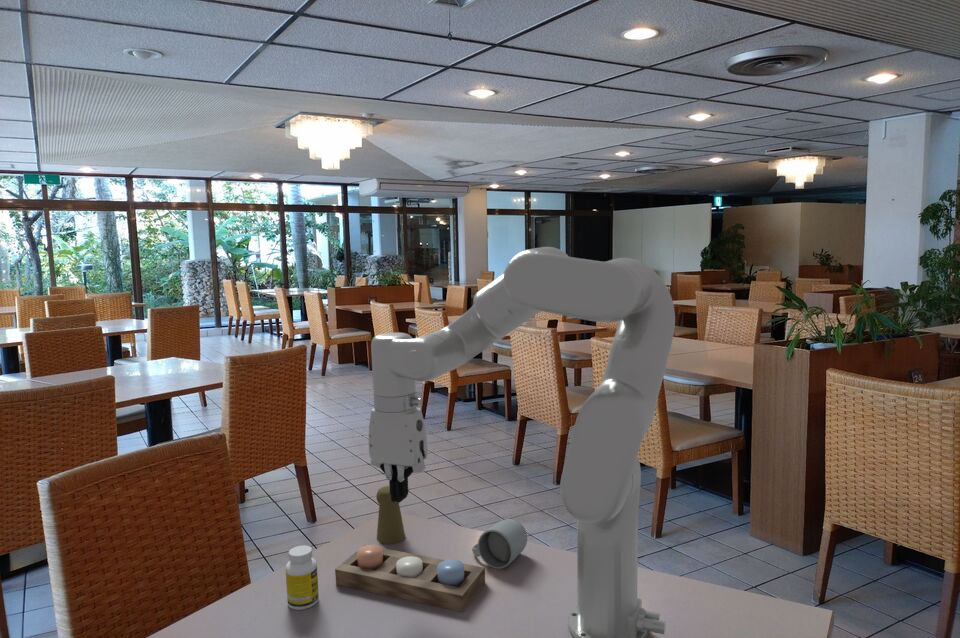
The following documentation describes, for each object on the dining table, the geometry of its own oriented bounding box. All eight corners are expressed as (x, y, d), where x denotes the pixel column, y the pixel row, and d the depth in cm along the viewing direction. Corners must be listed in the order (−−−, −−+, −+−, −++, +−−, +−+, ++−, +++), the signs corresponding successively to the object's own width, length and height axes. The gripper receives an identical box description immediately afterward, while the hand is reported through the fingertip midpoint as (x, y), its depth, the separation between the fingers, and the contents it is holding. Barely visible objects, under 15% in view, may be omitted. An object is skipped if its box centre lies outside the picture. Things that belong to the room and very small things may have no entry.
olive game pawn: (399, 544, 138) (397, 494, 137) (372, 542, 139) (369, 493, 138) (408, 531, 144) (406, 483, 142) (382, 529, 145) (379, 481, 144)
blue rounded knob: (468, 577, 121) (468, 562, 120) (457, 591, 116) (457, 575, 116) (445, 572, 122) (444, 557, 122) (433, 586, 118) (432, 570, 118)
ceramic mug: (530, 553, 133) (529, 517, 132) (512, 573, 125) (511, 534, 124) (484, 544, 138) (482, 508, 137) (464, 562, 131) (462, 525, 130)
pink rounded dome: (387, 561, 127) (387, 546, 127) (374, 573, 123) (373, 558, 122) (366, 557, 129) (365, 542, 129) (352, 569, 125) (351, 554, 124)
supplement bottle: (318, 608, 116) (314, 556, 114) (286, 612, 115) (282, 559, 113) (320, 592, 121) (316, 541, 120) (289, 595, 120) (285, 544, 119)
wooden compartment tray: (485, 582, 122) (484, 567, 122) (462, 612, 113) (462, 595, 113) (365, 558, 133) (364, 544, 132) (336, 584, 123) (335, 569, 123)
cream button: (427, 573, 124) (426, 558, 124) (415, 586, 120) (414, 571, 119) (405, 569, 126) (404, 554, 125) (392, 582, 122) (391, 566, 121)
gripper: (441, 400, 119) (445, 497, 122) (370, 393, 125) (375, 486, 128) (422, 411, 112) (426, 513, 115) (348, 403, 118) (353, 501, 121)
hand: (399, 499), depth 121 cm, fingers closed
